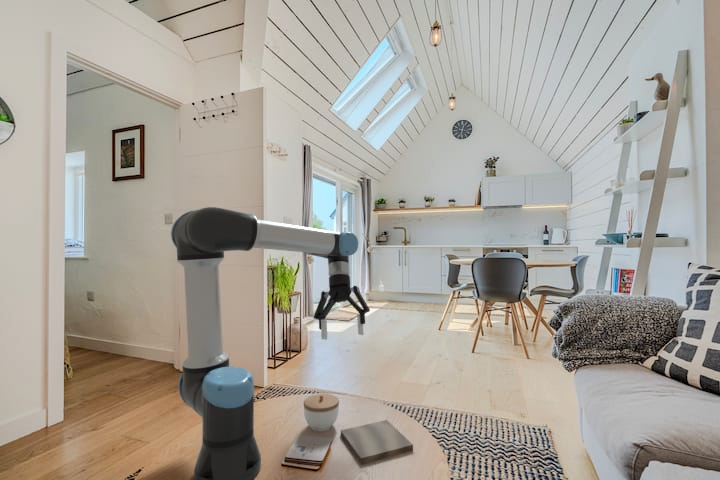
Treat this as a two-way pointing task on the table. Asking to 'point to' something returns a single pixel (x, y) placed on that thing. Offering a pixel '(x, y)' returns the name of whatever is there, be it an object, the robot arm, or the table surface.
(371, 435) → the brown metal plate
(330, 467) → the table surface
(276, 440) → the table surface
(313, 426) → the lidded jar
